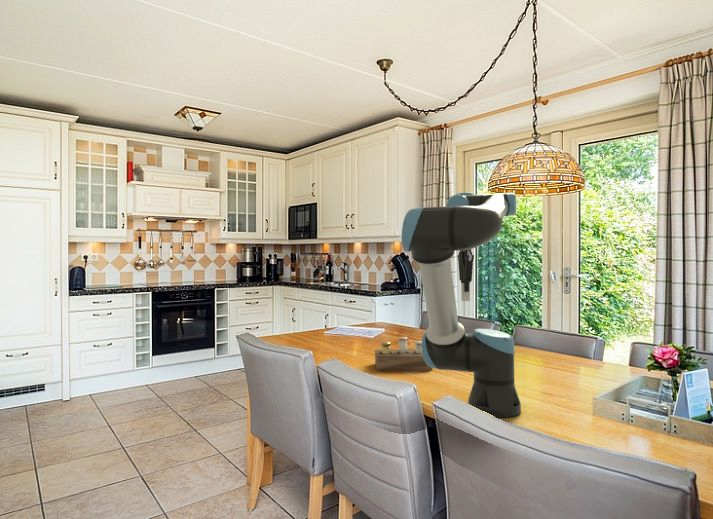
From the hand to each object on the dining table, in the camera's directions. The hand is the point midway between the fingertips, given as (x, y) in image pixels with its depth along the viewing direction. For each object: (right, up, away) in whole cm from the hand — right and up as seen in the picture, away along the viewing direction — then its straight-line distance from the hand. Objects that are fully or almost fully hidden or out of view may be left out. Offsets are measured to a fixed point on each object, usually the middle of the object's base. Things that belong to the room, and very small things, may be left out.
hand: (465, 300), depth 166 cm
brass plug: (-28, -28, +21) cm, 45 cm away
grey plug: (-14, -28, +22) cm, 38 cm away
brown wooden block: (-21, -29, +22) cm, 42 cm away
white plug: (-21, -26, +22) cm, 40 cm away
